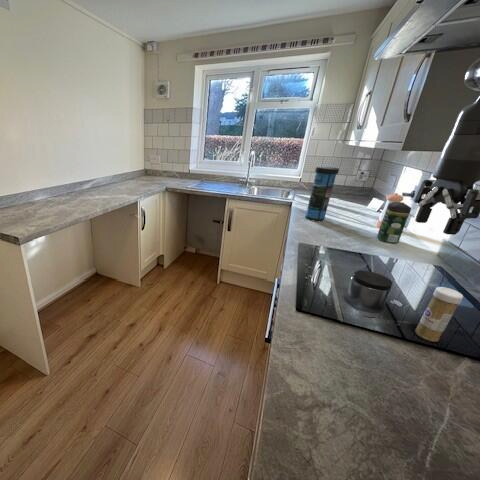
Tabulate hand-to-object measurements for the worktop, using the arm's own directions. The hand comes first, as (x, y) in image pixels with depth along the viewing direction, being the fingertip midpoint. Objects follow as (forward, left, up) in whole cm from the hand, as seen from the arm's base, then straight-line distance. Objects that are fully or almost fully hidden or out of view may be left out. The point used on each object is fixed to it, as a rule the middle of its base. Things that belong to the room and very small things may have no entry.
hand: (433, 227), depth 62 cm
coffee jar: (-36, -64, -27) cm, 79 cm away
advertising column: (-14, -94, -27) cm, 99 cm away
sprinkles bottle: (-3, +7, -27) cm, 28 cm away
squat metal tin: (+7, -3, -27) cm, 28 cm away
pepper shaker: (-47, -85, -27) cm, 101 cm away
